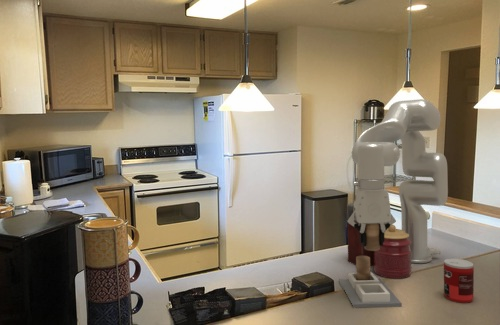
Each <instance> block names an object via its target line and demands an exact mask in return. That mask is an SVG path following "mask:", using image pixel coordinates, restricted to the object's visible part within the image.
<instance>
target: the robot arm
mask: <svg viewBox="0 0 500 325" xmlns="http://www.w3.org/2000/svg"><path fill="white" fill-rule="evenodd" d="M441 118H442V117H441V113H440V110H439V109H438V107H436V105H434V103H432V102H430V101H429V100H427V99H410V100H399V101H396V102H393V103H392V104H391V105H390V106H389V108H388V110H387V111H386V113H385V115H384V117H383V119H382V120H381V122H379V123H377V124H375V125H373V126H371V127H370V128H367V129H366V130H364V131H363V132H362V133H360V135H359V136H358V138H357V139H356V141H355V143H354V144H353V147H352V150H351V159H352V161H353V163H354V164H356V165H357V180H355V181H353V183H352V186H354V187H357V188H356V189H355V193H354V201H353V203H354V212H353V214H352V215H351V217H350V218H349V219H348V223H349V224H351V225H352V226H354V227H355V228H356V229H357V230H358V231H359V241H360V243H361V244H362V245H363V246H366V233H365V231H364V230H365V226H366V224H379V239H380V246H383V242H384V233H385V232H386V230H387V229H388V228H389V227H390V225H394V224H395V223H396V221H397V220H396V218H395V217H394V216H393V214H392V213H391V212H392V211H391V203H390V202H391V201H390V196H389V195H390V194H389V191H388V189H386V188H385V167H392V166H395V164H397V163H398V162H399V161H400V157H401V159H402V160H401V163H402V172H403V174H404V175H406V176H407V177H415V178H417V177H418V178H431V179H433V180H425V179H424V180H422V179H407V180H403V181H402V182H400V184H399V187H398V195H399V196H398V197H399V202H400V209H401V212H400V213H401V214H400V215H401V230H403V231H405V232H406V233H407V234H409V237H408V239H409V240H411V242H412V243H411V244H410V249H411V251H412V252H411V264H412V263H413V264H425V263H429V262H432V260H433V257H432V255H441V250H440V249H439V248H438V249H435V248H432V247H431V248H430V247H428V214H427V212H426V210H425V209H424V207H423V205H424V206H439V207H440V206H444V205H445V204H446V203H447V201H448V194H449V188H448V187H449V186H448V185H449V184H448V181H449V180H448V178H449V177H448V162H447V158H446V156H445V155H444V154H443V153H441V152H428V151H426V138H425V137H424V135H423V134H422V132H425V131H427V132H428V131H429V132H431V131H436V130H437V129H438V128H439V127H440V125H441ZM399 140H400V142H401V151H400V148H399V147H398V145H397V144H396V143H394V142H397V141H399ZM354 220H356V221H357V222H358V223H359V225H358V224H357V223H355V222H354Z"/></svg>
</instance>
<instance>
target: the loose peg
mask: <svg viewBox="0 0 500 325" xmlns="http://www.w3.org/2000/svg"><path fill="white" fill-rule="evenodd" d="M364 231H365V233H366V246H364V249H366V250H369V251H377V250H379V249H380V239H379V224H366V226H365V230H364Z"/></svg>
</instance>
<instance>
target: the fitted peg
mask: <svg viewBox="0 0 500 325" xmlns="http://www.w3.org/2000/svg"><path fill="white" fill-rule="evenodd" d="M355 267H356V268H355V270H356V272H355V273H356V280H357V281H358V280H370V272H371V266H370V257H368V256H357V257H356V265H355Z"/></svg>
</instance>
